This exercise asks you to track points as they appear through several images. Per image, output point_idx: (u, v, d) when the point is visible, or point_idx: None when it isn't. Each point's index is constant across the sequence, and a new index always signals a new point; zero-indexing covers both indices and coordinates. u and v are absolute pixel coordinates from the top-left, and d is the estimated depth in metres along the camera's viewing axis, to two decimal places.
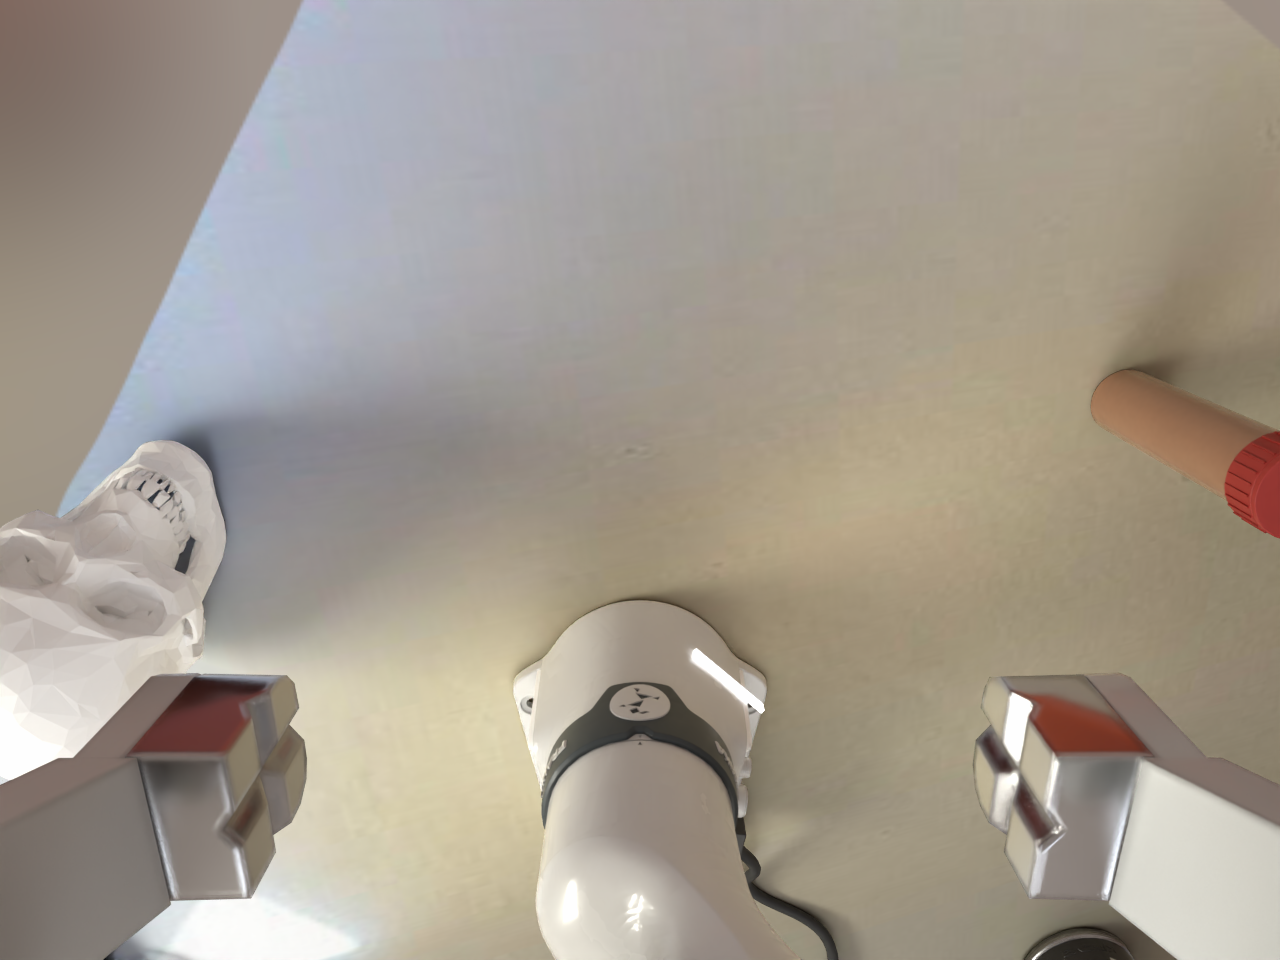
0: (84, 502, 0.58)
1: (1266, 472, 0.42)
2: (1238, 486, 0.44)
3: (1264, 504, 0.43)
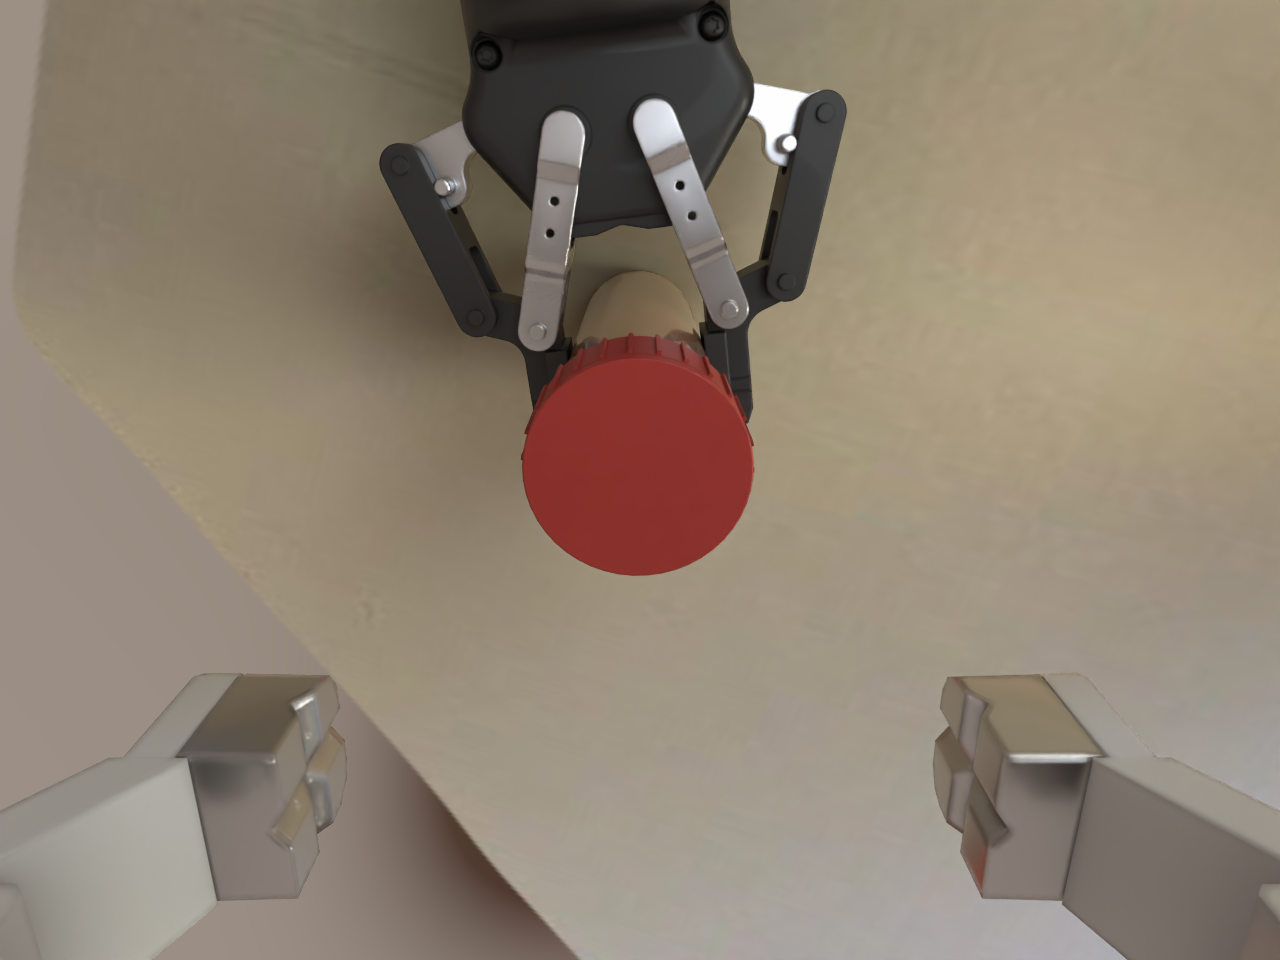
0: None
1: (706, 548, 0.20)
2: None
3: (731, 485, 0.19)
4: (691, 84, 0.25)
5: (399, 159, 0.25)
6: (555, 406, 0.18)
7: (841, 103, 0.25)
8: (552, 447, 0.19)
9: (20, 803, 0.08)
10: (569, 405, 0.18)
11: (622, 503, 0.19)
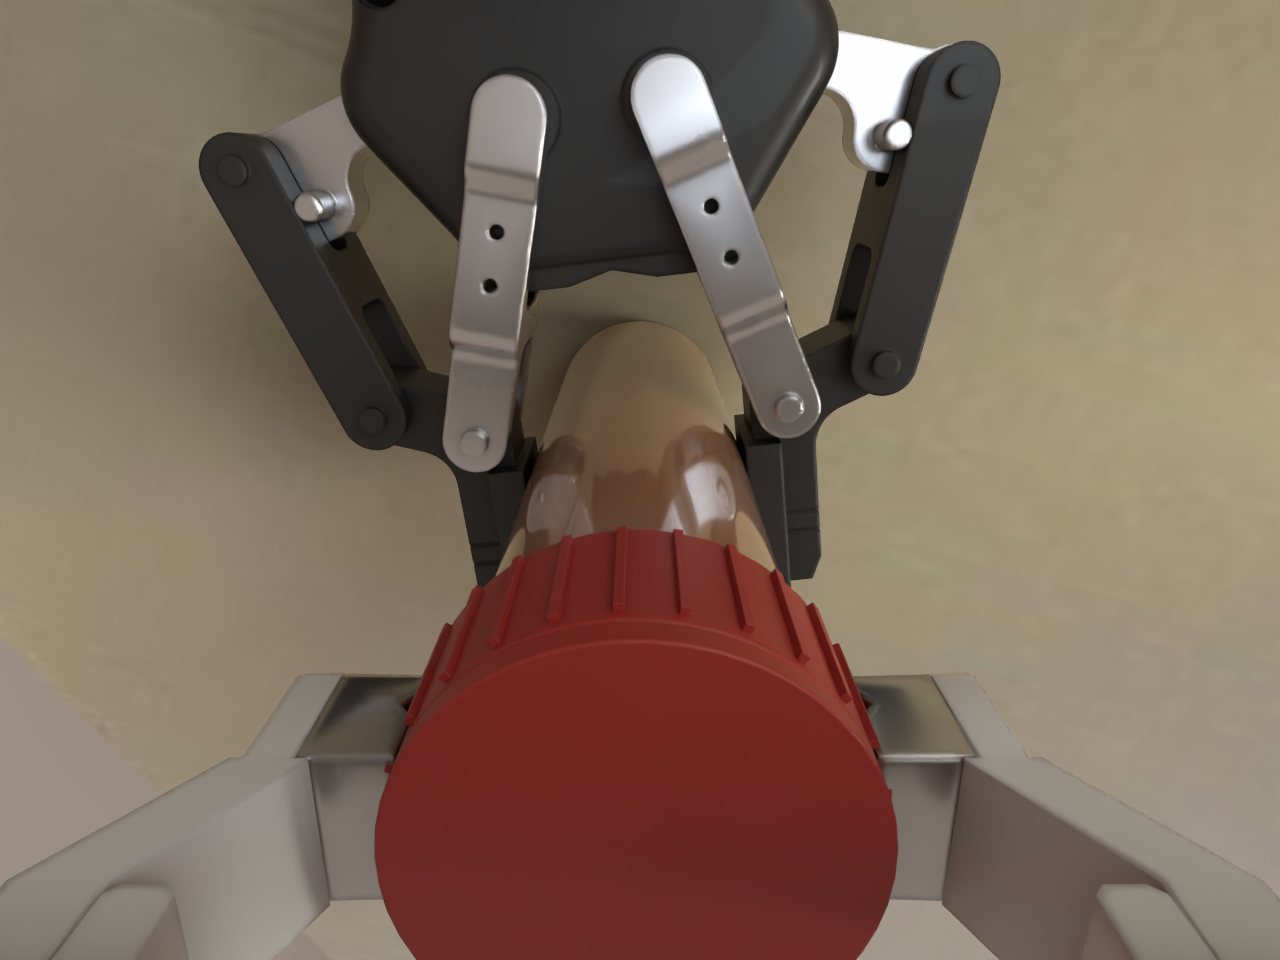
0: None
1: None
2: None
3: (845, 895, 0.08)
4: (732, 31, 0.14)
5: (231, 160, 0.15)
6: (445, 739, 0.08)
7: (992, 65, 0.14)
8: (440, 821, 0.08)
9: (152, 803, 0.08)
10: (475, 739, 0.08)
11: (600, 927, 0.09)
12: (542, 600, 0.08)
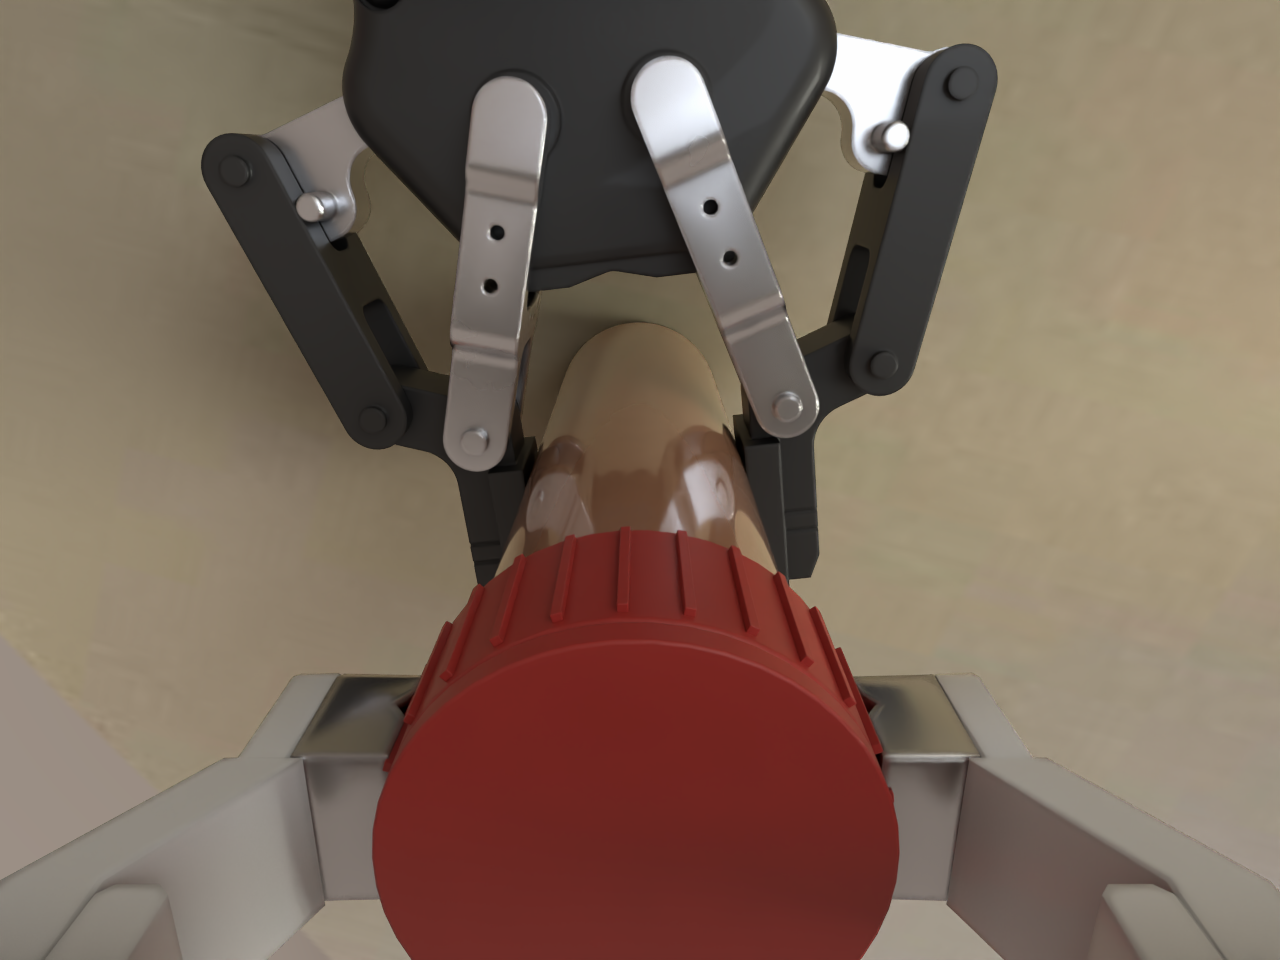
0: None
1: (861, 750, 0.08)
2: (758, 600, 0.09)
3: (703, 694, 0.08)
4: (731, 33, 0.14)
5: (233, 161, 0.15)
6: None
7: (989, 67, 0.14)
8: None
9: (146, 803, 0.08)
10: None
11: (705, 908, 0.08)
12: None
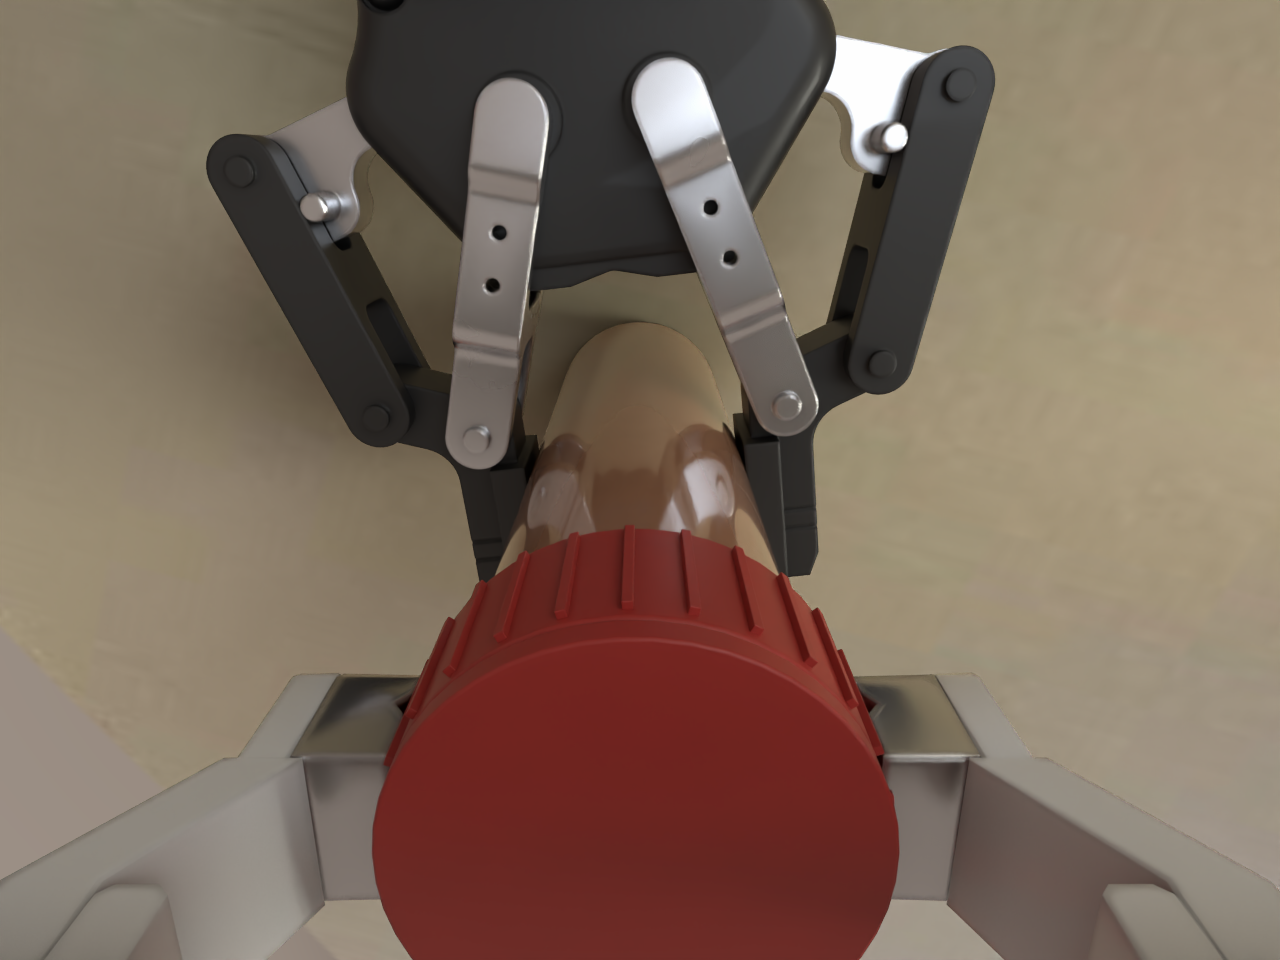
0: None
1: (523, 658, 0.08)
2: (444, 654, 0.09)
3: (431, 795, 0.08)
4: (732, 35, 0.14)
5: (238, 161, 0.15)
6: None
7: (986, 69, 0.15)
8: (797, 952, 0.09)
9: (146, 803, 0.08)
10: None
11: (691, 819, 0.08)
12: None
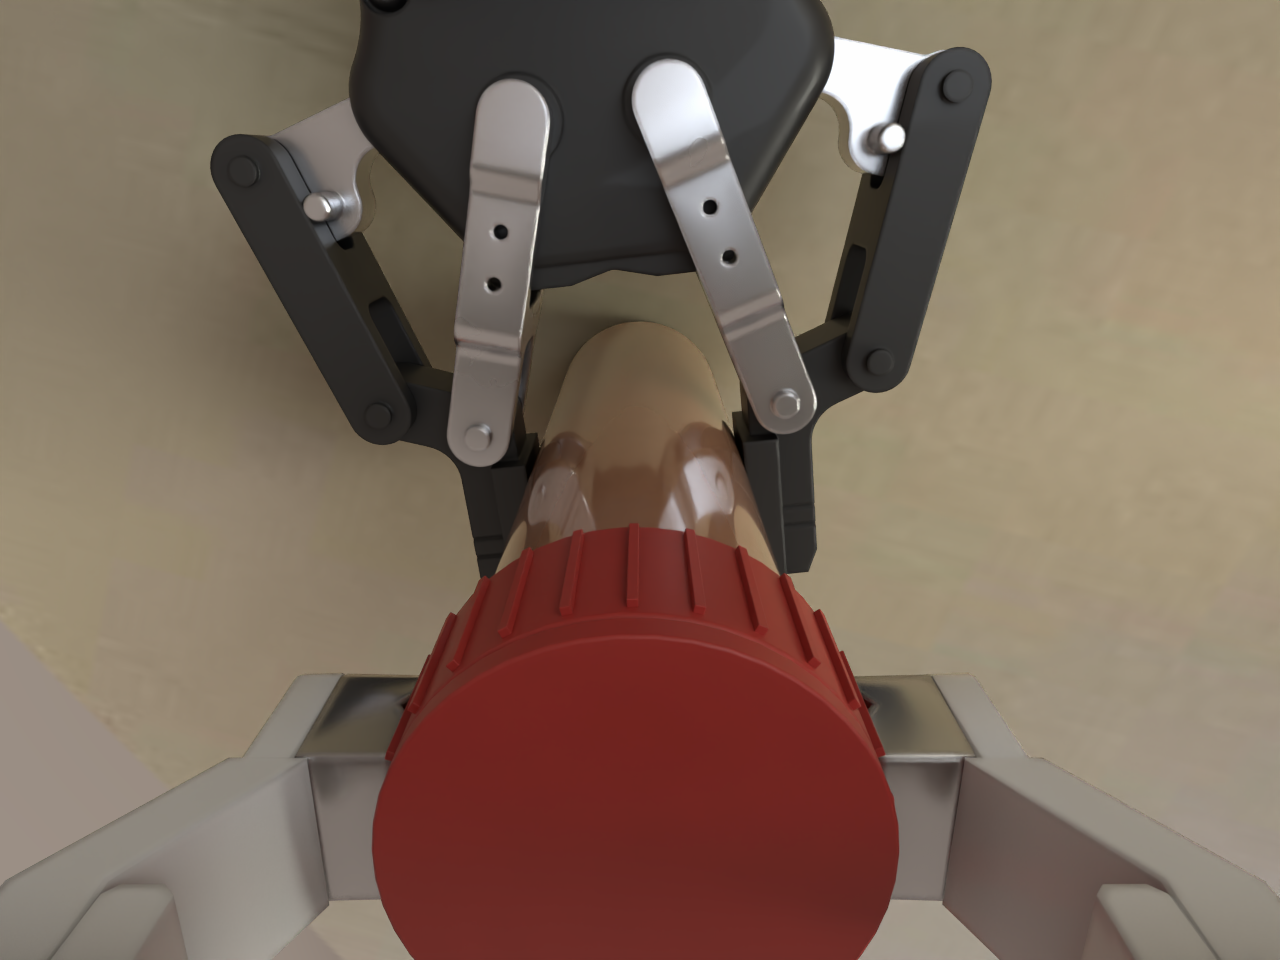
0: None
1: None
2: None
3: None
4: (731, 37, 0.15)
5: (242, 161, 0.15)
6: (859, 783, 0.08)
7: (983, 70, 0.15)
8: (774, 739, 0.08)
9: (152, 803, 0.08)
10: (846, 807, 0.08)
11: (578, 815, 0.08)
12: None
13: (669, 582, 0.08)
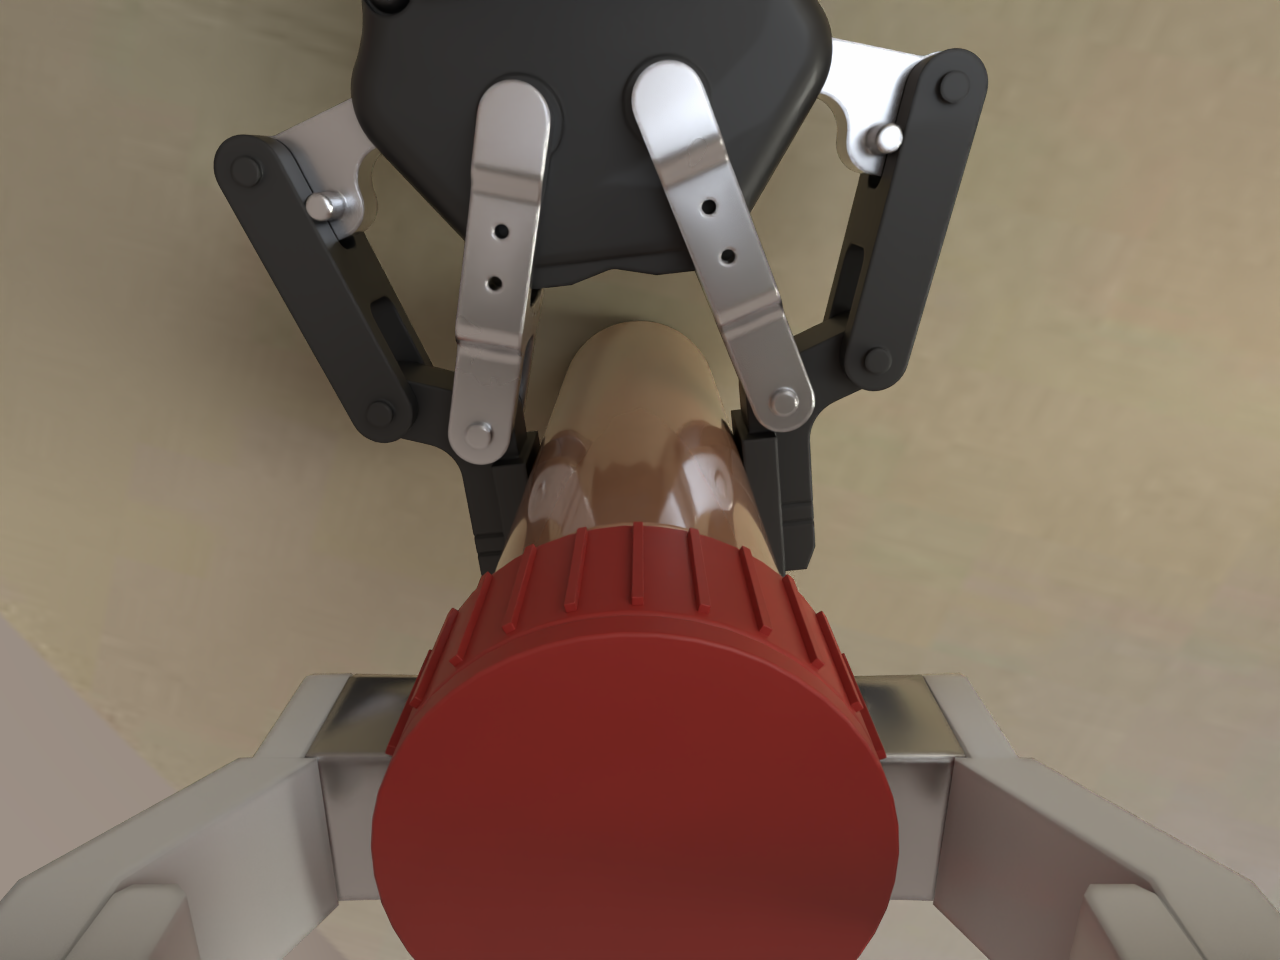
0: None
1: None
2: None
3: None
4: (730, 38, 0.15)
5: (245, 161, 0.15)
6: (556, 667, 0.08)
7: (980, 71, 0.15)
8: (493, 738, 0.08)
9: (162, 803, 0.08)
10: (584, 682, 0.08)
11: (565, 902, 0.08)
12: (682, 583, 0.08)
13: None
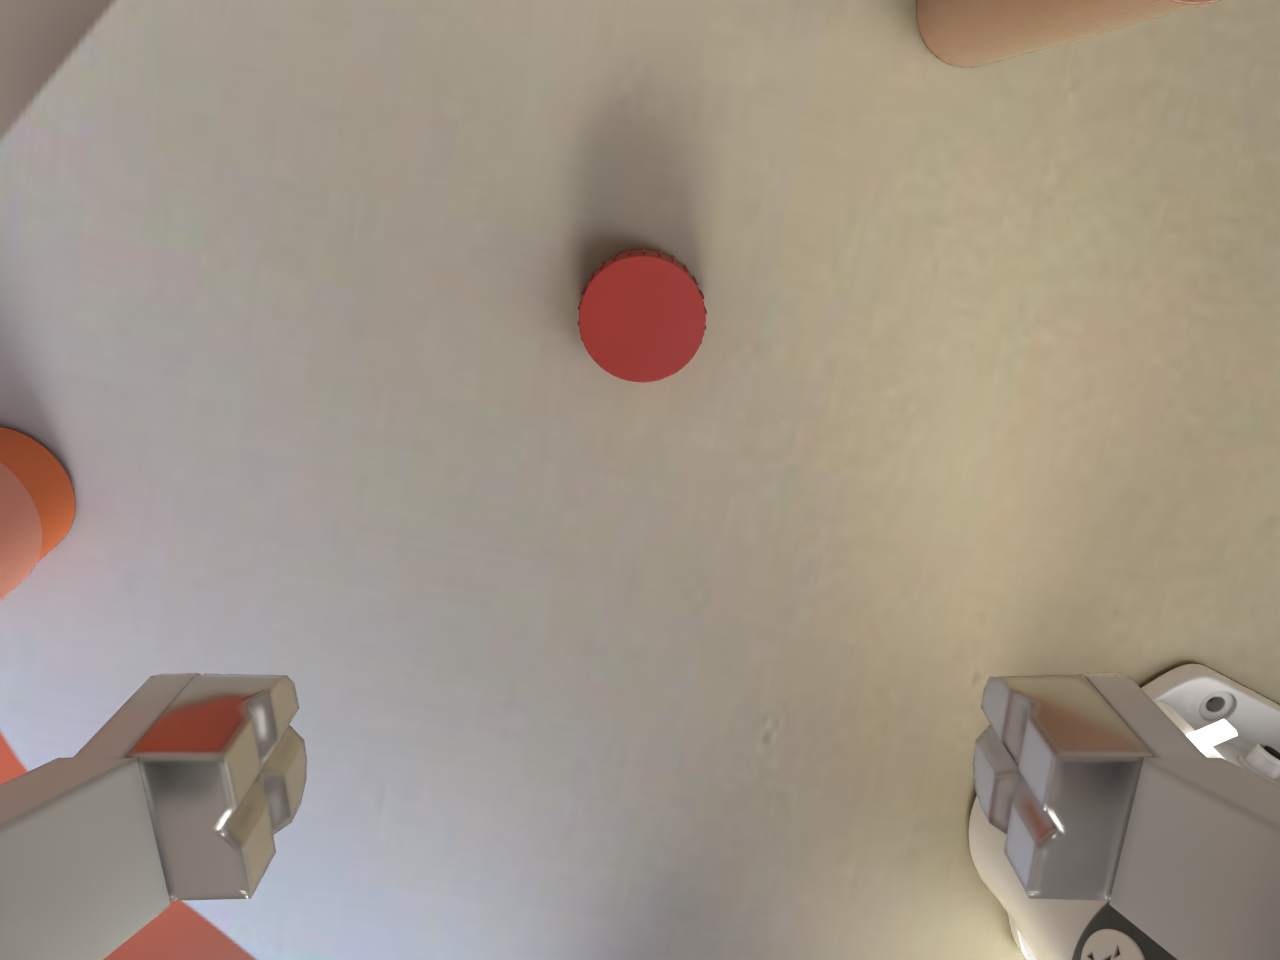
0: None
1: (703, 320, 0.34)
2: None
3: (682, 285, 0.34)
4: None
5: None
6: (585, 329, 0.34)
7: None
8: (601, 346, 0.35)
9: None
10: (589, 324, 0.34)
11: (650, 338, 0.34)
12: None
13: None
